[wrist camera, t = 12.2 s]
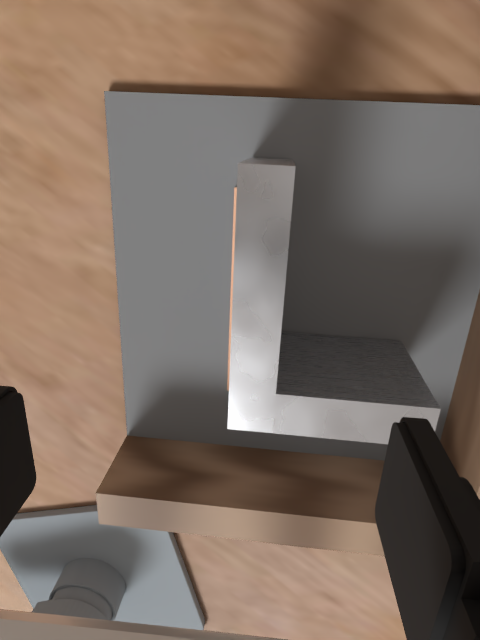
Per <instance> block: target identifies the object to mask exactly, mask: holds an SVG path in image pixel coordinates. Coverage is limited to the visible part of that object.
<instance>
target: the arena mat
mask: <svg viewBox="0 0 480 640" xmlns="http://www.w3.org/2000/svg"><path fill="white" fill-rule="evenodd" d="M104 94H105V109H106V124H107V139H108V154H109V169H110V185H111V200H112V215H113V230H114V245H115V260H116V275H117V290H118V305H119V320H120V335H121V350H122V365H123V380H124V395H125V410H126V425H127V436H137V437H148V438H158V439H168V440H178V441H189V442H199V443H209V444H219V445H230V446H240V447H250V448H260V449H271V450H281V451H291V452H301V453H312V454H322V455H332V456H342V457H353V458H363V459H373V460H383V461H385V456H386V451H387V447H388V444H379V443H368V442H358V441H348V440H337V439H327V438H317V437H306V436H296V435H285V434H275V433H265V432H254V431H244V430H233V429H227V426H228V401H229V376H230V350H231V325H232V299H233V274H234V249H235V223H236V198H237V173H238V163H240V162H242V161H244V160H247V159H249V158H252V157H254V158H274V159H293V161H294V163H295V166H296V167H295V179H294V191H293V202H292V214H291V225H290V237H289V248H288V260H287V272H286V283H285V295H284V306H283V318H282V329H281V332H290V333H303V334H316V335H328V336H341V337H354V338H366V339H379V340H392V341H402V343H403V345H404V346H405V348H406V350H407V352H408V353H409V355H410V357H411V358H412V360H413V362H414V364H415V365H416V367H417V369H418V370H419V372H420V374H421V376H422V377H423V379H424V381H425V383H426V384H427V386H428V388H429V389H430V391H431V393H432V395H433V396H434V398H435V400H436V401H437V403H438V405H439V407H440V408H441V410H440V414H439V418H438V422H437V426H436V430H435V433H436V435H437V437H438V438H439V440H441V436H442V432H443V428H444V424H445V421H446V417H447V413H448V409H449V405H450V401H451V398H452V394H453V390H454V386H455V382H456V378H457V375H458V371H459V367H460V363H461V359H462V355H463V352H464V348H465V344H466V340H467V336H468V332H469V328H470V325H471V321H472V317H473V313H474V309H475V305H476V302H477V298H478V294H479V290H480V105H459V104H433V103H406V102H380V101H353V100H327V99H300V98H273V97H247V96H220V95H194V94H167V93H141V92H114V91H104Z"/></svg>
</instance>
